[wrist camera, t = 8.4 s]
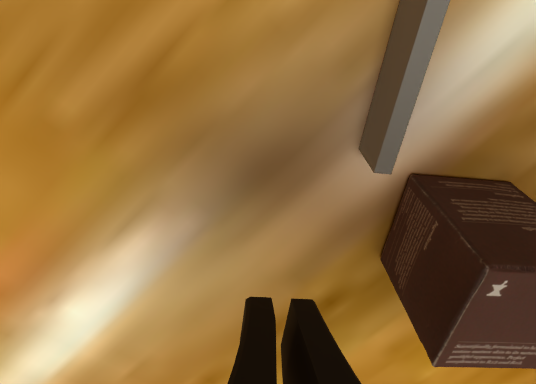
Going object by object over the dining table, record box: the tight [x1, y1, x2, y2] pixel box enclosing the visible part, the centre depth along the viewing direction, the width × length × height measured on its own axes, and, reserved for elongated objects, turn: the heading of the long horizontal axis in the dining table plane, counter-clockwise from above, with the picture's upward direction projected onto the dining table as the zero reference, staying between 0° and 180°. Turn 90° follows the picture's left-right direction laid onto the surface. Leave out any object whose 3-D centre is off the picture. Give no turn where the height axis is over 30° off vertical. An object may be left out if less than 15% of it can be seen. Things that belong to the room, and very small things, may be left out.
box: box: [381, 175, 536, 369], centre depth 18 cm, size 6×6×7 cm
